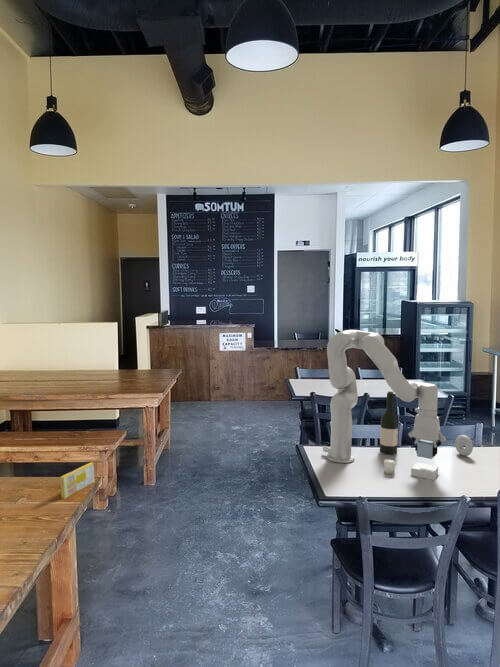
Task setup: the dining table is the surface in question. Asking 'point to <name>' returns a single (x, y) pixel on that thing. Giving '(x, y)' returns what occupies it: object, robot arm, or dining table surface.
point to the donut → (467, 443)
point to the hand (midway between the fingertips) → (426, 453)
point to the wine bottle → (389, 428)
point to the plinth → (424, 470)
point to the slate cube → (425, 449)
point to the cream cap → (389, 466)
